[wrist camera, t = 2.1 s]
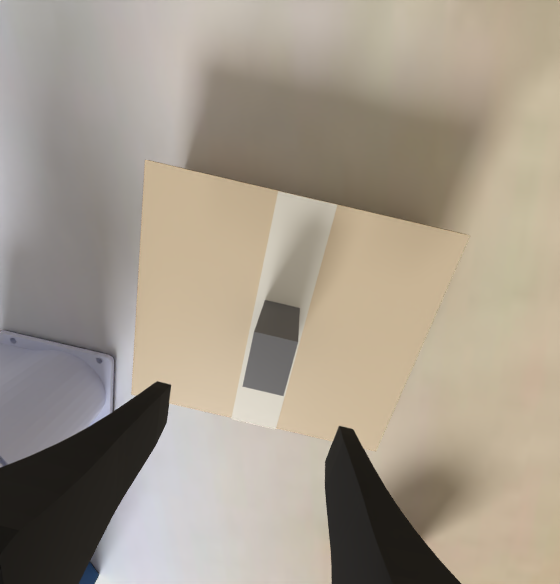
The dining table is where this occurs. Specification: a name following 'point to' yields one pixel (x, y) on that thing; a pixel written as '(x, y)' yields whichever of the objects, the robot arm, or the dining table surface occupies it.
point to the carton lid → (282, 303)
